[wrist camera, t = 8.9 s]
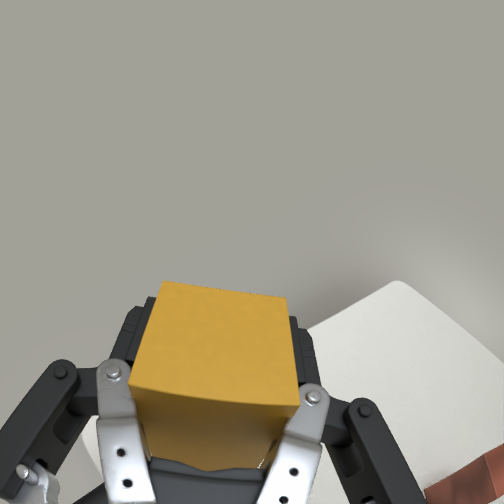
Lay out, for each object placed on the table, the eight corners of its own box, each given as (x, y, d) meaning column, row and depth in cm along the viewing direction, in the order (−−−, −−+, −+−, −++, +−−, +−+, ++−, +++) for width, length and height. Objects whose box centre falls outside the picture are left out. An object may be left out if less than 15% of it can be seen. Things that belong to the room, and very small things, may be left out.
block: (249, 477, 12) (301, 405, 8) (155, 466, 12) (126, 384, 7) (249, 404, 16) (286, 297, 12) (168, 394, 16) (162, 279, 11)
